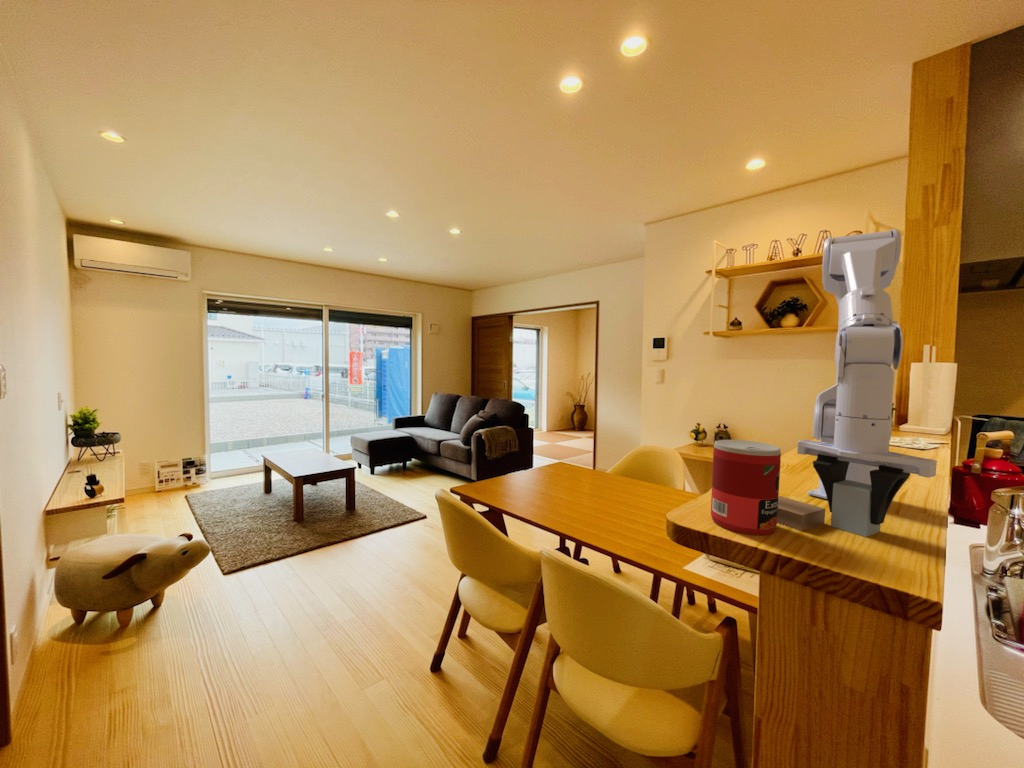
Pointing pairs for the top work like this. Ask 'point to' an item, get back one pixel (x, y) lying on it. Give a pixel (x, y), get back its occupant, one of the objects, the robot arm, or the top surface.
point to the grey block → (853, 508)
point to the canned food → (745, 486)
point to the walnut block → (799, 514)
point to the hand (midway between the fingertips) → (855, 517)
